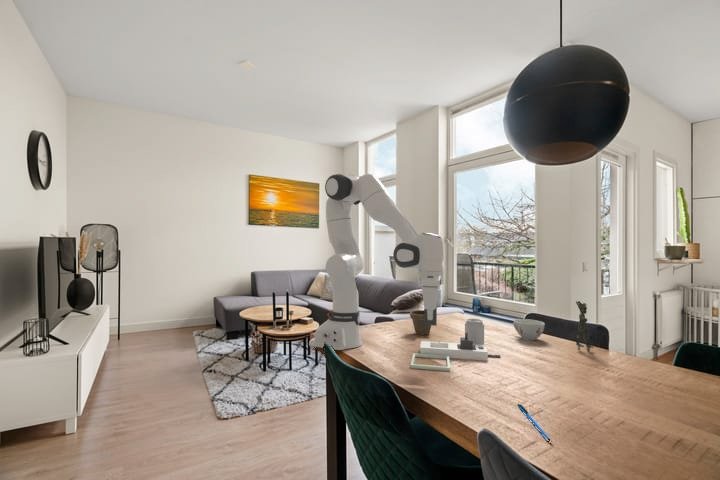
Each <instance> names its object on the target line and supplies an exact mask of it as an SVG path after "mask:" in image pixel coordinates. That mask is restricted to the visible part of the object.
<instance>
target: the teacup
mask: <svg viewBox="0 0 720 480" xmlns="http://www.w3.org/2000/svg"><path fill="white" fill-rule="evenodd" d="M512 324H513V328H514V329H515V331H516V333H517V334H518V336H520V337H521V338H522V339H523V340H525V341H537V339H538V338H540V337H541V335H542V334H543V333H544V330H545V325H546V324H545V322H544V321H541V320H536V319H528V318H524V319H522V318H517V319H515V320H513V323H512Z"/></svg>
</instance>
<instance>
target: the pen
mask: <svg viewBox="0 0 720 480" xmlns="http://www.w3.org/2000/svg"><path fill="white" fill-rule="evenodd" d="M517 406H518V408H519V410H522V411H523V412H524V413H525V414H526V416H527V417H528V418H529V419H530V420H531V421H532V423H534V425H535V426H536V427H537V428H538V429H539V430H540V431H541V433H542V434H543V435H544V436H545V437H546V438H547V439H548V440H549V441H550V440H551V439H550V437H549V436H548V435H547V434H546V432H545V431H544V430H543V429H542V428H541V427H540V425H539V424H538V422H536V421H535V420H534V419H533V417H532V416H531V415H530V413H529V412H528V411H527V410H526V408H525V407H524V406H523V405H522V404H519V403H517ZM522 411H521V412H522ZM523 412H522V413H523ZM524 413H523V414H524ZM525 414H524V415H525ZM526 416H525V417H526ZM527 417H526V418H527ZM528 418H527V419H528ZM529 419H528V420H529ZM530 420H529V421H530ZM532 423H531V424H532ZM534 425H533V426H534ZM535 426H534V427H535Z"/></svg>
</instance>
